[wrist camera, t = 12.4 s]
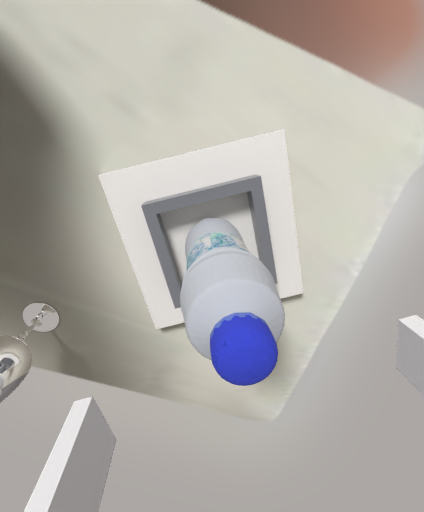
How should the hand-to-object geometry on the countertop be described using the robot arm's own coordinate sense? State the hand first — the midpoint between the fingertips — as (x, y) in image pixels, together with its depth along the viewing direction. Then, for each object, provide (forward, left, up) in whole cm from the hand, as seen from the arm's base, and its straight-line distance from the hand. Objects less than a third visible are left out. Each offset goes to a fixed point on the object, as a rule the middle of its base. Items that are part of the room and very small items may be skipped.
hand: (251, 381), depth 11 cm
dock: (0, 0, -22) cm, 22 cm away
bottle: (0, 0, -21) cm, 21 cm away
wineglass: (+5, -24, -23) cm, 33 cm away
